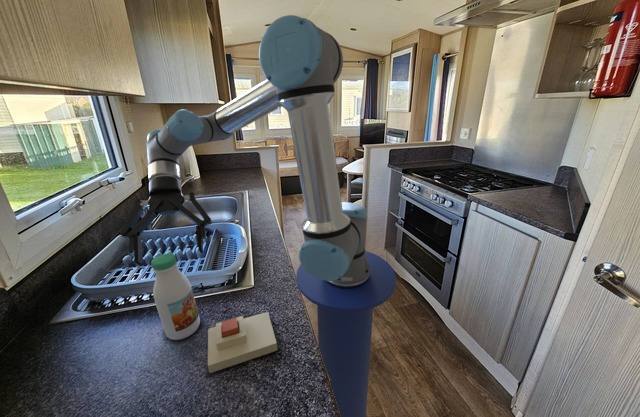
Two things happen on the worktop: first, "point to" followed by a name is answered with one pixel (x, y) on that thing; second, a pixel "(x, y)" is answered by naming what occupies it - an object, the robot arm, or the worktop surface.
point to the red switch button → (229, 327)
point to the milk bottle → (174, 298)
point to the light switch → (240, 342)
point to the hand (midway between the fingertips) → (170, 257)
